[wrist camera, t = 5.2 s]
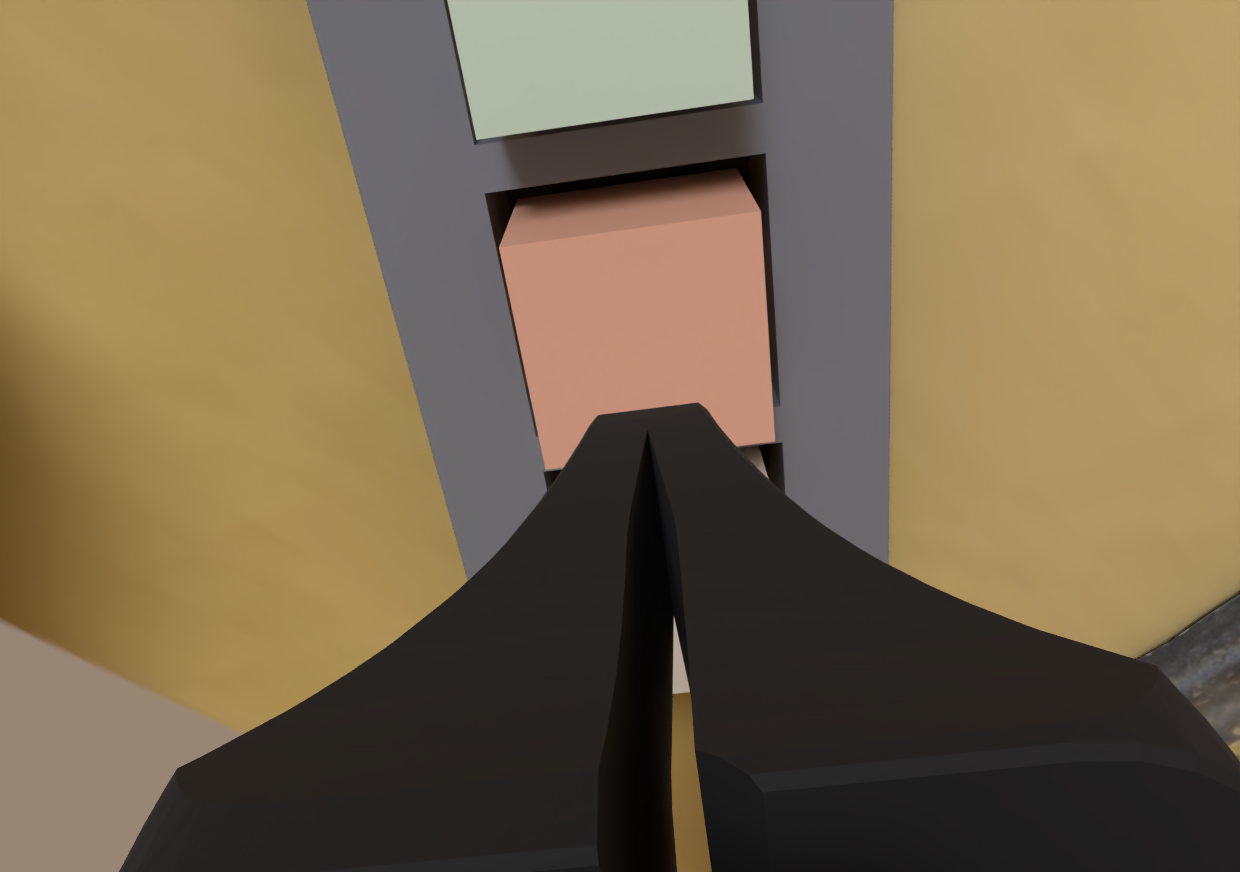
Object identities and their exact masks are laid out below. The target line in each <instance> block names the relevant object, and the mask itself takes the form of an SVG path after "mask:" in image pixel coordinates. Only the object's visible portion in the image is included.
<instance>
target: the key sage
mask: <svg viewBox="0 0 1240 872" xmlns="http://www.w3.org/2000/svg"><path fill="white" fill-rule="evenodd" d="M447 1H448V6H449V11H450V16H451V20H452V25H453V30H454V35H455V40H456V44H457V49H458V54H459V59H460V63H461V68H462V73H463V78H464V83H465V87H466V92H467V97H468V102H469V106H470V111H471V116H472V121H473V126H474V130H475V135H476V140H479V139H485V138H492V137H499V136H506V135H513V134H519V133H526V132H533V131H540V130H547V129H553V128H560V127H567V126H574V125H581V124H587V123H594V122H601V121H608V120H615V119H621V118H628V117H635V116H642V115H649V114H655V113H662V112H669V111H676V110H683V109H689V108H696V107H703V106H710V105H717V104H724V103H730V102H737V101H744V100H751V99H754V93H753V77H752V61H751V45H750V29H749V13H748V0H447Z"/></svg>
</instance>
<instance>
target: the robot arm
mask: <svg viewBox="0 0 1240 872" xmlns="http://www.w3.org/2000/svg"><path fill="white" fill-rule="evenodd" d="M674 618H675V623H676V628H677V633H678V637H679V642H680V647H681V651H682V656H683V661H684V666H685V670H686V675H687V680H688V684H689V689H690V694H691V699H692V713H693V727H694V742H695V753H696V761H697V768H698V775H699V782H700V789H701V797H702V804H703V811H704V818H705V825H706V832H707V840H708V847H709V854H710V861H711V868H712V872H1240V761H1239V759H1238V758H1237V757H1236V755H1235V754H1234V753H1233V751H1232V750H1231V749H1230V748H1229V746H1228V745H1227V744H1226V743H1225V741H1224V740H1223V739H1222V738H1221V737H1220V735H1219V734H1218V733H1217V732H1216V730H1215V729H1214V728H1213V727H1212V726H1211V724H1210V723H1209V722H1208V721H1207V719H1206V718H1205V717H1204V716H1203V715H1202V714H1201V713H1200V712H1199V711H1198V710H1197V709H1196V708H1195V707H1194V706H1193V704H1192V703H1191V702H1190V701H1189V700H1188V699H1187V698H1186V697H1185V696H1184V695H1183V694H1182V693H1181V692H1180V691H1179V690H1178V689H1177V687H1176V686H1175V685H1174V684H1173V683H1172V682H1171V681H1170V680H1169V679H1168V677H1167V676H1166V675H1165V674H1164V673H1163V672H1162V671H1161V669H1160V668H1159V667H1157V666H1156V665H1152V664H1149V663H1146V662H1143V661H1139V660H1136V659H1133V658H1129V657H1126V656H1123V655H1119V654H1116V653H1113V652H1110V651H1106V650H1103V649H1100V648H1096V647H1093V646H1090V645H1087V644H1083V643H1080V642H1077V641H1073V640H1070V639H1067V638H1063V637H1060V636H1057V635H1054V634H1050V633H1047V632H1044V631H1041V630H1038V629H1035V628H1032V627H1029V626H1026V625H1024V624H1021V623H1019V622H1016V621H1014V620H1011V619H1008V618H1006V617H1003V616H1001V615H998V614H996V613H993V612H990V611H988V610H985V609H983V608H980V607H978V606H975V605H972V604H970V603H968V602H965V601H963V600H961V599H958V598H956V597H954V596H952V595H949V594H947V593H945V592H943V591H940V590H938V589H936V588H934V587H932V586H929V585H927V584H925V583H924V582H922V581H920V580H918V579H916V578H914V577H912V576H910V575H908V574H906V573H904V572H902V571H900V570H898V569H896V568H894V567H892V566H890V565H888V564H886V563H884V562H883V561H881V560H879V559H877V558H876V557H874V556H872V555H870V554H868V553H867V552H865V551H863V550H862V549H860V548H858V547H857V546H855V545H854V544H852V543H851V542H849V541H847V540H846V539H844V538H843V537H841V536H840V535H838V534H837V533H835V532H834V531H832V530H831V529H829V528H827V527H826V526H824V525H823V524H822V523H820V522H819V521H818V520H816V519H815V518H814V517H813V516H811V515H810V514H809V513H807V512H806V511H805V510H804V509H803V508H801V507H800V506H799V505H798V504H796V503H795V502H794V501H793V500H792V499H790V498H789V497H788V496H787V495H786V494H784V493H783V492H782V491H781V490H780V489H779V488H778V487H777V486H776V485H774V484H773V483H772V482H771V481H770V480H769V479H768V478H767V477H766V476H765V475H764V474H763V473H762V472H761V471H760V470H759V469H758V468H757V467H756V466H755V465H754V464H753V463H752V462H751V461H750V460H749V459H748V458H747V457H746V456H745V455H744V454H743V453H742V452H741V451H740V450H739V449H738V448H737V447H736V445H735V444H734V443H733V442H732V441H731V440H730V439H729V437H728V436H727V435H726V434H725V433H724V432H723V430H722V429H721V428H720V427H719V425H718V424H717V423H716V421H715V420H714V418H713V417H712V416H711V414H710V412H709V411H708V410H707V409H706V408H705V407H704V406H702V405H701V404H700V403H698V402H697V403H689V404H681V405H673V406H666V407H658V408H650V409H642V410H634V411H626V412H618V413H610V414H602V415H598V416H597V417H596V418H595V419H594V420H593V422H592V423H591V424H590V426H589V427H588V429H587V431H586V432H585V434H584V436H583V437H582V439H581V441H580V442H579V444H578V446H577V447H576V449H575V450H574V452H573V454H572V455H571V457H570V458H569V460H568V461H567V463H566V464H565V466H564V468H563V469H562V470H561V472H560V473H559V475H558V476H557V478H556V479H555V480H554V482H553V483H552V485H551V486H550V487H549V489H548V490H547V492H546V493H545V494H544V496H543V497H542V499H541V500H540V501H539V503H538V504H537V505H536V507H535V508H534V509H533V510H532V512H531V513H530V514H529V515H528V517H527V518H526V519H525V520H524V521H523V523H522V524H521V525H520V526H519V527H518V529H517V530H516V531H515V532H514V534H513V535H512V536H511V537H510V538H509V540H508V541H507V542H506V543H505V544H504V545H503V547H502V548H501V549H500V550H499V551H498V552H497V553H496V554H495V555H494V556H493V557H492V558H491V559H490V560H489V561H488V562H487V563H486V564H485V565H484V566H483V567H482V568H481V569H480V570H479V571H478V572H477V573H476V574H475V575H474V576H473V577H472V578H471V579H469V580H468V581H467V582H466V583H465V584H464V585H463V586H462V587H461V588H460V589H459V590H458V591H456V592H455V593H454V594H453V595H452V596H451V597H450V598H448V599H447V600H446V601H445V602H443V603H442V604H441V605H440V606H438V607H437V608H436V609H435V610H433V611H432V612H431V613H430V614H428V615H427V616H426V617H425V618H423V619H422V620H421V621H419V622H418V623H417V624H416V625H414V626H413V627H412V628H411V629H409V630H408V631H407V632H406V633H404V634H403V635H402V636H401V637H399V638H398V639H397V640H395V641H394V642H393V643H392V644H390V645H389V646H387V647H386V648H385V649H383V650H382V651H380V652H379V653H377V654H376V655H374V656H373V657H372V658H370V659H369V660H367V661H366V662H364V663H363V664H361V665H360V666H358V667H357V668H355V669H354V670H352V671H351V672H349V673H348V674H346V675H345V676H343V677H341V678H340V679H338V680H337V681H335V682H334V683H332V684H330V685H329V686H327V687H326V688H324V689H322V690H321V691H319V692H318V693H316V694H315V695H313V696H311V697H310V698H308V699H306V700H305V701H303V702H301V703H299V704H298V705H296V706H294V707H293V708H291V709H289V710H288V711H286V712H284V713H282V714H280V715H278V716H277V717H275V718H273V719H271V720H269V721H267V722H265V723H263V724H262V725H260V726H258V727H256V728H254V729H252V730H250V731H249V732H247V733H245V734H243V735H241V736H239V737H237V738H235V739H234V740H232V741H230V742H228V743H226V744H224V745H222V746H221V747H219V748H217V749H215V750H213V751H211V752H209V753H207V754H206V755H204V756H202V757H200V758H198V759H196V760H194V761H192V762H190V763H187V764H185V765H184V766H181V767H179V768H178V769H177V770H176V771H175V773H174V775H173V776H172V778H171V780H170V781H169V783H168V784H167V786H166V788H165V789H164V791H163V793H162V795H161V796H160V798H159V800H158V802H157V803H156V805H155V807H154V809H153V810H152V812H151V814H150V815H149V817H148V819H147V821H146V822H145V824H144V826H143V828H142V830H141V832H140V833H139V835H138V837H137V839H136V841H135V843H134V845H133V847H132V848H131V850H130V852H129V854H128V856H127V858H126V860H125V862H124V864H123V865H122V867H121V869H120V871H119V872H677V866H676V853H675V841H674V828H673V816H672V788H671V752H672V698H673V639H674Z"/></svg>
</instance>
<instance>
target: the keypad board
mask: <svg viewBox="0 0 1240 872" xmlns="http://www.w3.org/2000/svg"><path fill="white" fill-rule="evenodd" d="M306 1H307V5H308V8H309V12H310V15H311V19H312V23H313V26H314V30H315V33H316V37H317V41H318V44H319V48H320V51H321V55H322V59H323V62H324V66H325V69H326V73H327V76H328V80H329V84H330V87H331V91H332V94H333V98H334V102H335V105H336V109H337V112H338V116H339V120H340V123H341V127H342V130H343V134H344V138H345V141H346V145H347V148H348V152H349V156H350V159H351V163H352V166H353V170H354V173H355V177H356V181H357V184H358V188H359V191H360V195H361V199H362V202H363V206H364V209H365V213H366V217H367V220H368V224H369V227H370V231H371V235H372V238H373V242H374V245H375V249H376V253H377V256H378V260H379V263H380V267H381V270H382V274H383V278H384V281H385V285H386V288H387V292H388V296H389V299H390V303H391V306H392V310H393V314H394V317H395V321H396V324H397V328H398V332H399V335H400V339H401V342H402V346H403V349H404V353H405V357H406V360H407V364H408V367H409V371H410V375H411V378H412V382H413V385H414V389H415V393H416V396H417V400H418V403H419V407H420V411H421V414H422V418H423V421H424V425H425V429H426V432H427V436H428V439H429V443H430V446H431V450H432V454H433V457H434V461H435V464H436V468H437V472H438V475H439V479H440V482H441V486H442V490H443V493H444V497H445V500H446V504H447V508H448V511H449V515H450V518H451V522H452V526H453V529H454V533H455V536H456V540H457V543H458V547H459V551H460V554H461V558H462V561H463V565H464V569H465V572H466V576H467V579H468V580H469V579H471V578H472V577H473V576H474V575H475V574H476V573H477V572H478V571H479V570H480V569H481V568H482V567H483V566H484V565H485V564H486V563H487V562H488V561H489V560H490V559H491V558H492V557H493V556H494V555H495V554H496V553H497V552H498V551H499V550H500V549H501V548H502V547H503V545H504V544H505V543H506V542H507V541H508V540H509V538H510V537H511V536H512V535H513V534H514V532H515V531H516V530H517V529H518V527H519V526H520V525H521V524H522V523H523V521H524V520H525V519H526V518H527V517H528V515H529V514H530V513H531V512H532V510H533V509H534V508H535V507H536V505H537V504H538V503H539V501H540V500H541V499H542V497H543V496H544V494H545V493H546V492H547V490H548V489H549V487H550V486H551V485H552V483H553V482H554V480H555V479H556V478H557V476H558V475H559V473H560V472H561V470H562V469H563V468H556V469H548V470H546V469H545V465H544V460H543V455H542V450H541V446H540V441H539V436H538V431H537V426H536V422H535V417H534V412H533V407H532V403H531V398H530V393H529V388H528V383H527V379H526V374H525V369H524V364H523V360H522V355H521V350H520V345H519V340H518V336H517V331H516V326H515V321H514V317H513V312H512V307H511V302H510V297H509V293H508V288H507V283H506V278H505V274H504V269H503V264H502V259H501V254H500V250H499V246H500V244H501V241H502V238H503V236H504V233H505V231H506V228H507V225H508V223H509V220H510V218H511V211H510V206H509V201H508V196H507V191H506V190H512V189H519V188H526V187H533V186H540V185H547V184H554V183H561V182H568V181H575V180H582V179H589V178H596V177H603V176H610V175H617V174H624V173H631V172H638V171H645V170H652V169H659V168H666V167H673V166H680V165H687V164H694V163H701V162H708V161H715V160H722V159H729V158H736V157H743V156H748V163H749V178H750V193H751V194H752V196H753V198H754V200H755V202H756V203H757V205H758V207H759V209H760V210H761V221H762V238H763V254H764V270H765V286H766V302H767V318H768V334H769V350H770V366H771V382H772V398H773V414H774V430H775V442H767V443H759V444H751V445H743V446H736V447H737V448H740V447H748V446H756V445H764V444H767V445H768V460H769V475H770V481H771V482H772V483H773V484H774V485H776V486H777V487H778V488H779V489H780V490H781V491H782V492H783V493H784V494H786V495H787V496H788V497H789V498H790V499H792V500H793V501H794V502H795V503H796V504H798V505H799V506H800V507H801V508H803V509H804V510H805V511H806V512H807V513H809V514H810V515H811V516H813V517H814V518H815V519H816V520H818V521H819V522H820V523H822V524H823V525H824V526H826V527H827V528H829V529H831V530H832V531H834V532H835V533H837V534H838V535H840V536H841V537H843V538H844V539H846V540H847V541H849V542H851V543H852V544H854V545H855V546H857V547H858V548H860V549H862V550H863V551H865V552H867V553H868V554H870V555H872V556H874V557H876V558H877V559H879V560H881V561H883V562H884V563H886V564H888V552H889V443H890V334H891V225H892V116H893V6H894V0H748V13H749V29H750V45H751V61H752V77H753V93H754V99H751V100H744V101H737V102H730V103H724V104H717V105H710V106H703V107H696V108H689V109H683V110H676V111H669V112H662V113H655V114H649V115H642V116H635V117H628V118H621V119H615V120H608V121H601V122H594V123H587V124H581V125H574V126H567V127H560V128H553V129H547V130H540V131H533V132H526V133H519V134H513V135H506V136H499V137H492V138H485V139H479V140H476V135H475V130H474V126H473V121H472V116H471V111H470V106H469V102H468V97H467V92H466V87H465V83H464V78H463V73H462V68H461V63H460V59H459V54H458V49H457V44H456V40H455V35H454V30H453V25H452V20H451V16H450V11H449V6H448V1H447V0H306Z"/></svg>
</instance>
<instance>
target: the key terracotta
mask: <svg viewBox="0 0 1240 872" xmlns="http://www.w3.org/2000/svg"><path fill="white" fill-rule="evenodd" d="M499 250H500V254H501V259H502V264H503V269H504V274H505V278H506V283H507V288H508V293H509V297H510V302H511V307H512V312H513V317H514V321H515V326H516V331H517V336H518V340H519V345H520V350H521V355H522V360H523V364H524V369H525V374H526V379H527V383H528V388H529V393H530V398H531V403H532V407H533V412H534V417H535V422H536V426H537V431H538V436H539V441H540V446H541V450H542V455H543V460H544V465H545V469H546V470H548V469H556V468H564V466H565V464H566V463H567V461H568V460H569V458H570V457H571V455H572V454H573V452H574V450H575V449H576V447H577V446H578V444H579V442H580V441H581V439H582V437H583V436H584V434H585V432H586V431H587V429H588V427H589V426H590V424H591V423H592V422H593V420H594V419H595V418H596V417H597V416H598V415H602V414H610V413H618V412H626V411H634V410H642V409H650V408H658V407H666V406H673V405H681V404H689V403H697V402H698V403H700V404H701V405H702V406H704V407H705V408H706V409H707V410H708V411H709V412H710V414H711V416H712V417H713V418H714V420H715V421H716V423H717V424H718V425H719V427H720V428H721V429H722V430H723V432H724V433H725V434H726V435H727V436H728V437H729V439H730V440H731V441H732V442H733V443H734V444H735V445H736V446H743V445H751V444H759V443H767V442H775V430H774V414H773V398H772V382H771V366H770V350H769V334H768V318H767V302H766V286H765V270H764V254H763V238H762V221H761V210H760V209H759V207H758V205H757V203H756V202H755V200H754V198H753V196H752V194H751V193H750V191H749V189H748V187H747V186H746V184H745V182H744V180H743V179H742V177H741V175H740V173H739V172H738V170H737V168H732V169H725V170H718V171H711V172H704V173H697V174H690V175H683V176H676V177H669V178H662V179H655V180H648V181H641V182H634V183H627V184H620V185H613V186H606V187H599V188H592V189H585V190H578V191H571V192H564V193H557V194H550V195H543V196H536V197H529V198H521V199H517V202H516V205H515V207H514V210H513V212H512V215H511V218H510V220H509V223H508V225H507V228H506V231H505V233H504V236H503V238H502V241H501V244H500V246H499Z"/></svg>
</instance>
